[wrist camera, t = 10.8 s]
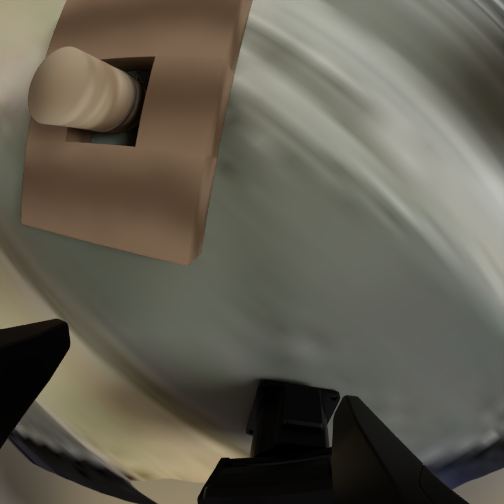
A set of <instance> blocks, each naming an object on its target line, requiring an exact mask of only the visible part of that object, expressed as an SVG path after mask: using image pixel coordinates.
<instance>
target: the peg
mask: <svg viewBox="0 0 504 504" xmlns="http://www.w3.org/2000/svg"><path fill="white" fill-rule="evenodd" d="M145 96H146V90H145V89H144V88H143V86H142V84H141V83H140V82H139V81H138V80H137V79H135V78H134V77H132V76H130V75H129V74H128V73H126V72H124V71H123V70H120V69H117V68H115V67H113V66H111V65H109V64H107V63H105V62H103V61H101V60H99V59H97V58H95V57H93V56H91V55H89V54H87V53H85V52H83V51H81V50H79V49H77V48H75V47H63V48H60V49H58V50H56V51H54V52H53V53H51V54H50V55H49V56H48V57H47V58H46V59H45V60H44V61H43V62H42V63H41V65H40V66H39V68H38V69H37V71H36V73H35V75H34V77H33V79H32V82H31V85H30V88H29V94H28V106H29V110H30V113H31V115H32V117H33V118H34V119H35V120H36V121H37V122H39V123H41V124H48V125H57V126H65V127H73V128H80V129H87V130H92V131H95V132H102V133H103V132H106V133H120V132H123V131H131V130H134V129H136V128H137V127H139V124H140V119H141V114H142V109H143V105H144V100H145Z"/></svg>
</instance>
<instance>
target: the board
mask: <svg viewBox="0 0 504 504" xmlns="http://www.w3.org/2000/svg"><path fill="white" fill-rule="evenodd" d="M251 4H252V0H67V1H66V3H65V5H64V8H63V10H62V13H61V15H60V18H59V20H58V23H57V25H56V28H55V31H54V34H53V36H52V39H51V42H50V45H49V48H48V51H47V55H46V58H47V57H48V56H49V55H50V54H51V53H53V52H54V51H56V50H58V49H60V48H63V47H75V48H77V49H79V50H81V51H83V52H85V53H87V54H89V55H91V56H93V57H95V58H97V59H99V60H101V61H103V62H105V63H107V64H109V65H111V66H113V67H115V68H117V69H120V70H123V71H133V70H152V71H151V75H150V79H149V83H148V87H147V91H146V96H145V100H144V105H143V109H142V114H141V119H140V124H139V129H138V135H137V140H136V146H135V147H132V146H121V145H109V144H95V143H91V137H92V130H87V129H80V128H73V127H65V126H57V125H48V124H41V123H39V122H37V121H36V120H35V119H34V118H33V117H32V115H31V121H30V126H29V132H28V139H27V146H26V154H25V163H24V174H23V187H22V211H21V224H24V225H28V226H31V227H35V228H39V229H42V230H46V231H50V232H53V233H57V234H61V235H65V236H68V237H72V238H76V239H80V240H84V241H88V242H91V243H95V244H99V245H103V246H107V247H111V248H115V249H119V250H123V251H127V252H131V253H135V254H139V255H143V256H147V257H151V258H156V259H160V260H164V261H168V262H172V263H177V264H181V265H185V266H188V265H189V264H190V263H191V262H192V261H193V260H194V259H195V258H196V257H197V256H198V255H199V254H200V253H201V251H202V245H203V238H204V231H205V225H206V219H207V213H208V207H209V201H210V195H211V189H212V183H213V177H214V172H215V166H216V161H217V156H218V150H219V145H220V140H221V135H222V130H223V125H224V120H225V115H226V110H227V105H228V101H229V96H230V91H231V87H232V82H233V78H234V73H235V69H236V64H237V60H238V56H239V52H240V47H241V43H242V39H243V35H244V31H245V27H246V23H247V19H248V15H249V11H250V8H251ZM46 58H45V59H46Z"/></svg>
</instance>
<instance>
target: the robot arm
mask: <svg viewBox="0 0 504 504" xmlns="http://www.w3.org/2000/svg"><path fill="white" fill-rule="evenodd" d="M69 348H70V336H69V327H68V324H67V323H66V322H65V321H62V320H60V319H52V320H47V321H42V322H37V323H32V324H27V325H21V326H16V327H11V328H5V329H0V449H1V447H2V445H3V444H4V443H5V441H6V440H7V438H8V437H9V435H10V434H11V432H12V431H13V430H14V428H15V427H16V425H17V424H18V422H19V421H20V420H21V418H22V417H23V415H24V414H25V413H26V411H27V410H28V409H29V407H30V406H31V404H32V403H33V402H34V400H35V399H36V398H37V396H38V395H39V394H40V392H41V391H42V390H43V388H44V387H45V386H46V384H47V383H48V382H49V380H50V379H51V377H52V376H53V374H54V372H55V371H56V369H57V367H58V366H59V364H60V363H61V361H62V359H63V358H64V356H65V355H66V353H67V352H68V350H69ZM264 385H266V386H268V387H264ZM333 396H336V397H334V398H332V397H333ZM339 400H340V394H339V392H338V391H333V390H325V389H318V388H311V387H305V386H298V385H292V384H287V383H281V382H276V381H270V380H262V381H260V383H259V386H258V389H257V393H256V396H255V400H254V403H253V407H252V410H251V414H250V417H249V421H248V424H247V428H246V433H247V434H248V435H252V436H253V439H252V445H251V451H250V457H249V458H236V459H230V458H221V459H220V461H219V462H218V464H217V466H216V467H215V469H214V471H213V472H212V474H211V476H210V477H209V479H208V480H207V482H206V484H205V485H204V487H203V489H202V491H201V493H200V494H199V496H198V499H197V500H198V504H469V503H468V502H467V501H465V500H464V499H463V498H462V497H460V496H459V495H457V494H456V493H455V492H454V491H453V490H451V489H450V488H449V487H448V486H447V485H445V484H444V483H443V482H442V481H441V480H440V479H439V478H438V477H436V476H435V475H434V474H433V473H432V472H431V471H430V470H429V469H428V468H427V467H426V466H425V465H423V463H422V462H421V461H420V460H419V459H418V458H417V457H416V456H415V455H414V454H413V453H412V452H411V451H410V450H409V449H408V448H407V447H406V446H405V445H404V444H403V443H402V442H401V441H400V440H399V439H398V438H397V437H396V436H395V435H394V434H393V433H392V432H391V431H390V430H389V428H388V427H387V426H386V425H385V424H384V423H383V422H382V421H381V420H380V419H379V418H378V417H377V416H376V415H375V414H374V413H373V412H372V411H371V410H370V409H369V408H368V407H367V406H366V405H365V404H364V403H363V402H362V401H361V399H360V398H358V397H357V396H350V395H346V396H344V397H343V398H342V400H341V402H340V404H339V406H338V408H337V410H336V412H335V414H334V418H333V437H332V447H329V438H328V428H327V424H328V422H329V420H330V418H331V416H332V414H333V412H334V410H335V408H336V406H337V404H338V402H339Z"/></svg>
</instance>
